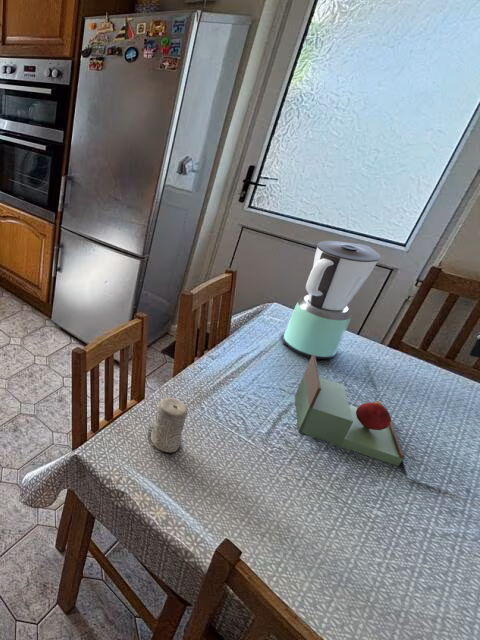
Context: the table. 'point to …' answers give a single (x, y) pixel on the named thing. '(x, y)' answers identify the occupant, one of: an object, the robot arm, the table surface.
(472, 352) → the robot arm
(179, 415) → the carving
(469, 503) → the table surface
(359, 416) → the onion
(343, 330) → the juicer
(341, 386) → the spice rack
